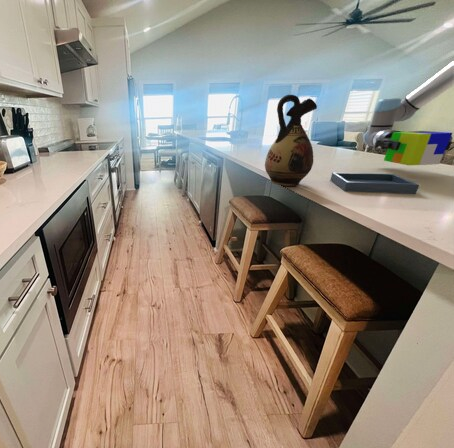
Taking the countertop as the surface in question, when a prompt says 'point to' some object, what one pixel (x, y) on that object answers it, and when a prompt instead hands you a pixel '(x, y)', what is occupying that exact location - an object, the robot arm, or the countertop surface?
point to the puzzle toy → (418, 147)
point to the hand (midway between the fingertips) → (422, 146)
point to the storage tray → (374, 183)
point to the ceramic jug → (290, 145)
